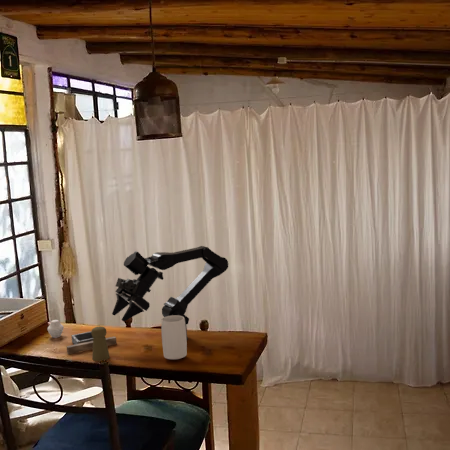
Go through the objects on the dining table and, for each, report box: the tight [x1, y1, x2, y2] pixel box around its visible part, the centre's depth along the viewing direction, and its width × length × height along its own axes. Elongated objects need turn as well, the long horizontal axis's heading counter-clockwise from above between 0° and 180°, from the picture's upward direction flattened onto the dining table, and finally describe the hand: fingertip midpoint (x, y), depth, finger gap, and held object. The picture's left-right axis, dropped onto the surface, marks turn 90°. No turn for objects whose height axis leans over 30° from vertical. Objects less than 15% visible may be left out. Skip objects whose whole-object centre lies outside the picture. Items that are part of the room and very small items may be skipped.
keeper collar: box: [71, 330, 93, 345], centre depth 211 cm, size 9×9×3 cm
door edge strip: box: [66, 336, 117, 355], centre depth 205 cm, size 18×2×2 cm, turn 119°
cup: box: [160, 315, 188, 360], centre depth 190 cm, size 8×8×14 cm
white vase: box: [47, 319, 64, 339], centre depth 220 cm, size 6×6×7 cm
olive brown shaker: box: [91, 326, 111, 362], centre depth 194 cm, size 6×6×11 cm
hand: (117, 317), depth 197 cm, fingers open, 9 cm apart
